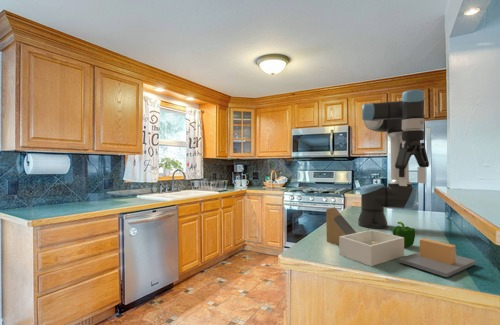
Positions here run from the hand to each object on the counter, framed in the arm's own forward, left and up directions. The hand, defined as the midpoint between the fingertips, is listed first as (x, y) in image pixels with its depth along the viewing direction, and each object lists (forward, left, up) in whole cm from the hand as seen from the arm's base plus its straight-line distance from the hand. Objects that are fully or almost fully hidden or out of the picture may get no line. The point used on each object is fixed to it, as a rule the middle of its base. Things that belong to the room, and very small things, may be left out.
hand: (412, 184), depth 106 cm
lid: (+5, +11, -28) cm, 30 cm away
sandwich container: (+12, -22, -28) cm, 37 cm away
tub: (+16, -7, -27) cm, 32 cm away
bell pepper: (-6, -7, -27) cm, 29 cm away
